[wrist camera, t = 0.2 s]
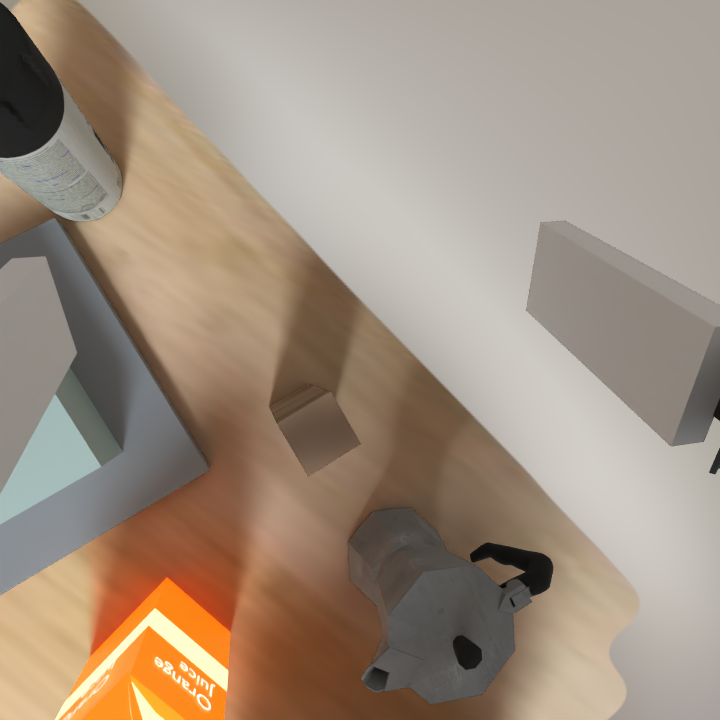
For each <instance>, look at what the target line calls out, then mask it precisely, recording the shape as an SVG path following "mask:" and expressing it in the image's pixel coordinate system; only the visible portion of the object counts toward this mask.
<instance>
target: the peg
mask: <svg viewBox="0 0 720 720" xmlns="http://www.w3.org/2000/svg"><path fill="white" fill-rule="evenodd" d="M269 407H270V409H271V412H272V414H273V416H274V418H275V420H276V423H277V424H278V426H279V428H280V430H281V431H282V433H283V435H284V436H285V438H286V440H287V441H288V443H289V445H290V447H291V448H292V450H293V452H294V453H295V455H296V457H297V458H298V460H299V462H300V463H301V465H302V467H303V469H304V470H305V472H306V474H307V475H308V476H310V475H312V474H313V473H315V472H316V471H318V470H320V469H321V468H323V467H325V466H326V465H328V464H329V463H331V462H333V461H334V460H336V459H337V458H339V457H341V456H342V455H344V454H345V453H347V452H349V451H350V450H352V449H353V448H355V447H357V446H358V445H360V444H361V443H360V442H359V440H358V438H357V436H356V435H355V433H354V431H353V429H352V428H351V426H350V424H349V422H348V421H347V419H346V417H345V415H344V414H343V412H342V410H341V408H340V407H339V405H338V403H337V402H336V400H335V398H334V396H333V395H332V393H331V391H328V390H325V389H322V388H319V387H316V386H313V385H310V384H306V385H305V386H303V387H301V388H299V389H298V390H296V391H294V392H293V393H291V394H289V395H288V396H286V397H284V398H282V399H281V400H279V401H277V402H276V403H274V404H272V405H270V406H269Z"/></svg>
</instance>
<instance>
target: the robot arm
mask: <svg viewBox="0 0 720 720" xmlns="http://www.w3.org/2000/svg"><path fill="white" fill-rule="evenodd" d="M526 311H528V312H529V314H531V315H532V316H533V317H534V318H535V319H536V320H537V321H538V322H539V323H540V324H541V325H542V326H543V327H544V328H545V329H547V330H548V331H549V332H550V333H551V334H552V335H553V336H554V337H555V338H556V339H557V340H558V341H559V342H560V343H562V345H564V346H565V347H566V348H567V349H568V350H569V351H570V352H571V353H572V354H573V355H574V356H575V357H576V358H578V360H580V361H581V362H582V363H583V364H584V365H585V366H586V367H587V368H588V369H589V370H590V371H591V372H592V373H593V374H594V375H595V376H597V377H598V378H599V379H600V380H601V381H602V382H603V383H604V384H605V385H606V386H607V387H608V388H609V389H610V390H611V391H613V392H614V393H615V394H616V395H617V396H618V397H619V398H620V399H621V400H622V401H623V402H624V403H625V404H626V405H627V406H628V407H630V408H631V409H632V410H633V411H634V412H635V413H636V414H637V415H638V416H639V417H640V418H641V419H642V420H643V421H644V422H645V423H646V424H648V425H649V426H650V427H651V428H652V429H653V430H654V431H655V432H656V433H657V434H658V435H659V436H660V437H661V438H662V439H664V440H665V441H666V442H667V443H668V444H669V445H670V446H678V445H684V444H691V443H698V442H704V440H705V438H706V435H707V433H708V430H709V427H710V425H711V423H712V421H713V418H714V417H715V418H717V419H718V420H719V421H720V305H719V304H717V303H715V302H713V301H711V300H710V299H708V298H706V297H704V296H702V295H700V294H699V293H697V292H695V291H693V290H691V289H689V288H687V287H686V286H684V285H682V284H680V283H678V282H677V281H675V280H673V279H671V278H669V277H667V276H665V275H664V274H662V273H660V272H658V271H656V270H655V269H653V268H651V267H649V266H647V265H645V264H644V263H642V262H640V261H638V260H636V259H634V258H633V257H631V256H629V255H627V254H625V253H623V252H622V251H620V250H618V249H616V248H614V247H612V246H611V245H609V244H607V243H605V242H603V241H601V240H600V239H598V238H596V237H594V236H592V235H591V234H589V233H587V232H585V231H583V230H581V229H580V228H578V227H576V226H574V225H572V224H570V223H568V222H567V221H556V222H541V223H540V229H539V235H538V242H537V247H536V254H535V259H534V265H533V271H532V278H531V284H530V290H529V296H528V302H527V308H526ZM76 354H77V351H76V348H75V345H74V342H73V339H72V336H71V333H70V330H69V326H68V323H67V320H66V317H65V314H64V311H63V308H62V305H61V302H60V299H59V296H58V293H57V290H56V287H55V283H54V280H53V277H52V274H51V271H50V268H49V265H48V262H47V259H46V256H41V257H27V258H12V259H11V260H10V261H9V262H8V263H7V264H6V265H4V266H3V267H2V268H1V269H0V494H1V492H2V490H3V488H4V487H5V485H6V483H7V481H8V479H9V477H10V476H11V474H12V472H13V470H14V468H15V466H16V465H17V463H18V461H19V459H20V457H21V455H22V453H23V452H24V450H25V448H26V446H27V444H28V442H29V441H30V439H31V437H32V435H33V433H34V431H35V430H36V428H37V426H38V424H39V422H40V420H41V419H42V417H43V415H44V413H45V411H46V409H47V407H48V406H49V404H50V402H51V400H52V398H53V396H54V395H55V393H56V391H57V389H58V387H59V385H60V384H61V382H62V380H63V378H64V376H65V374H66V373H67V371H68V369H69V367H70V365H71V363H72V362H73V360H74V358H75V356H76ZM719 468H720V448H719V451H718V453H717V455H716V458H715V460H714V462H713V465H712V467H711V469H710V472H709V473H712V474H716V472H717V470H718V469H719Z"/></svg>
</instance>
